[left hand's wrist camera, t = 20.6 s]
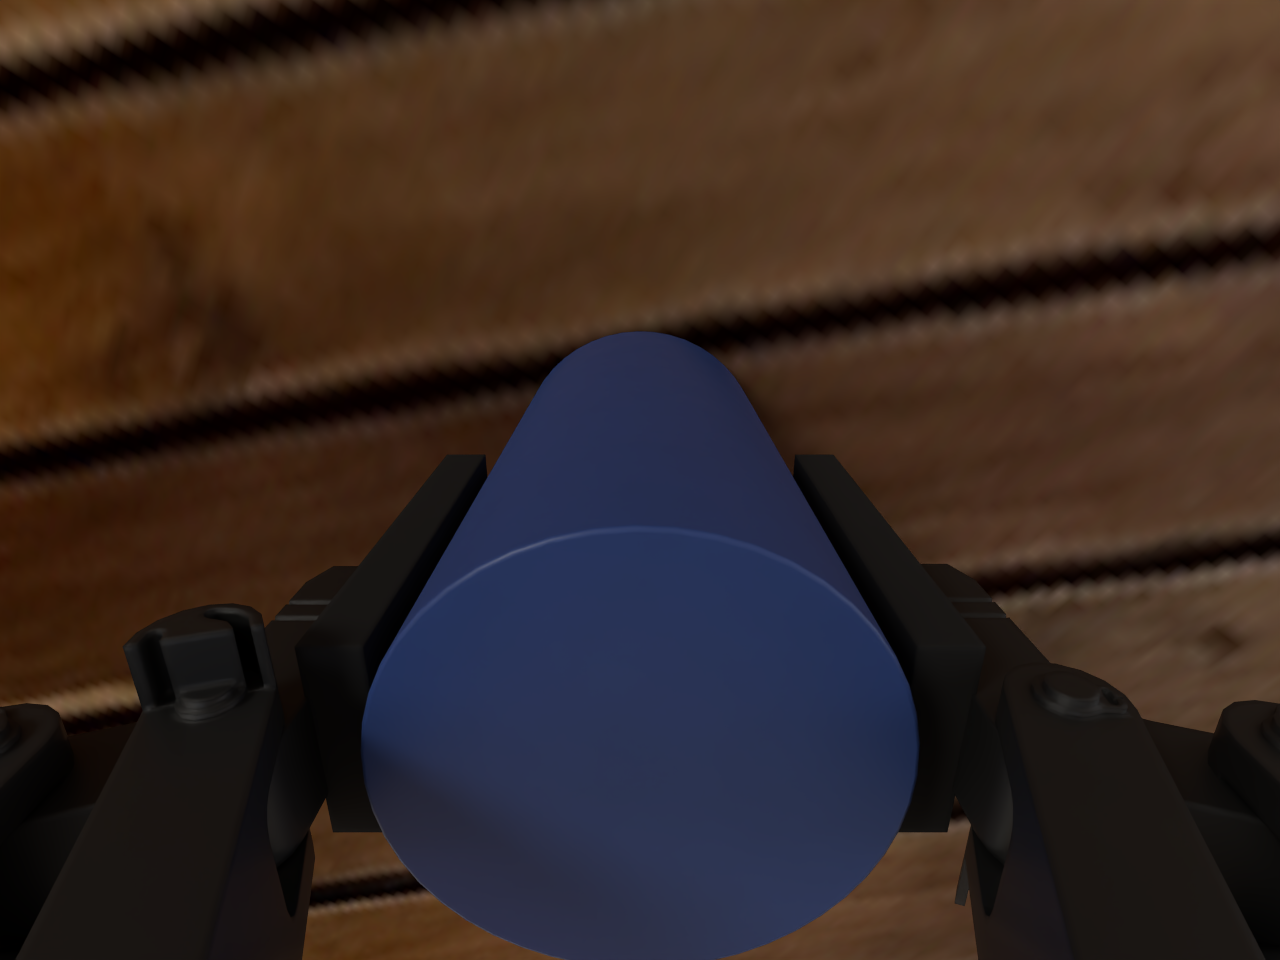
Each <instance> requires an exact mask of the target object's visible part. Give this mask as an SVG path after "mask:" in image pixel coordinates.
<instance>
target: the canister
mask: <svg viewBox="0 0 1280 960" xmlns="http://www.w3.org/2000/svg"><path fill="white" fill-rule="evenodd" d="M919 747H920V741H919V730H918V720H917V712H916V709H915V705H914V701H913V697H912V694H911V690H910V686H909V683H908V681H907V679H906V677H905V675H904V672H903V670H902V668H901V666H900V664H899V661H898V659H897V657H896V655H895V653H894V652H893V650H892V648H891V646H890V645H889V643H888V641H887V639H886V638H885V636H884V634H883V632H882V631H881V629H880V627H879V626H878V624H877V622H876V620H875V619H874V617H873V615H872V613H871V612H870V610H869V608H868V606H867V605H866V603H865V601H864V600H863V598H862V596H861V594H860V593H859V591H858V589H857V587H856V586H855V584H854V582H853V580H852V579H851V577H850V575H849V573H848V572H847V570H846V568H845V567H844V565H843V563H842V561H841V560H840V558H839V556H838V554H837V553H836V551H835V549H834V547H833V546H832V544H831V542H830V540H829V539H828V537H827V535H826V534H825V532H824V530H823V528H822V527H821V525H820V523H819V521H818V520H817V518H816V516H815V514H814V513H813V511H812V509H811V508H810V506H809V504H808V502H807V501H806V499H805V497H804V495H803V494H802V492H801V490H800V488H799V487H798V485H797V483H796V481H795V480H794V478H793V476H792V475H791V473H790V471H789V469H788V468H787V466H786V464H785V462H784V461H783V459H782V457H781V455H780V454H779V452H778V450H777V448H776V447H775V445H774V443H773V442H772V440H771V438H770V436H769V435H768V433H767V431H766V429H765V428H764V426H763V424H762V422H761V421H760V419H759V417H758V415H757V414H756V412H755V410H754V409H753V407H752V405H751V403H750V402H749V400H748V398H747V396H746V395H745V393H744V391H743V389H742V388H741V386H740V385H739V383H738V382H737V380H736V379H735V377H734V376H733V375H732V374H731V373H730V372H729V370H728V369H727V368H726V367H725V366H724V365H723V364H722V363H721V362H720V361H718V360H717V359H716V358H715V357H714V356H713V355H711V354H710V353H708V352H707V351H705V350H704V349H702V348H701V347H699V346H697V345H695V344H693V343H691V342H688V341H686V340H684V339H681V338H678V337H675V336H671V335H667V334H662V333H656V332H640V331H637V332H625V333H619V334H614V335H610V336H606V337H603V338H600V339H597V340H595V341H592V342H590V343H588V344H586V345H584V346H582V347H580V348H578V349H577V350H575V351H574V352H573V353H571V354H570V355H568V356H567V357H566V358H564V359H563V360H562V361H561V362H560V363H559V364H558V365H557V366H556V367H555V368H554V369H553V370H552V371H551V372H550V374H549V375H548V376H547V377H546V378H545V380H544V381H543V383H542V384H541V386H540V388H539V389H538V391H537V393H536V394H535V396H534V398H533V400H532V401H531V403H530V405H529V407H528V408H527V410H526V412H525V413H524V415H523V417H522V419H521V420H520V422H519V424H518V426H517V427H516V429H515V431H514V433H513V434H512V436H511V438H510V439H509V441H508V443H507V445H506V446H505V448H504V450H503V452H502V453H501V455H500V457H499V459H498V460H497V462H496V464H495V465H494V467H493V469H492V471H491V472H490V474H489V476H488V478H487V479H486V481H485V483H484V485H483V486H482V488H481V490H480V491H479V493H478V495H477V497H476V498H475V500H474V502H473V504H472V505H471V507H470V509H469V511H468V512H467V514H466V516H465V517H464V519H463V521H462V523H461V524H460V526H459V528H458V530H457V531H456V533H455V535H454V537H453V538H452V540H451V542H450V543H449V545H448V547H447V549H446V550H445V552H444V554H443V556H442V557H441V559H440V561H439V563H438V564H437V566H436V568H435V569H434V571H433V573H432V575H431V576H430V578H429V580H428V582H427V583H426V585H425V587H424V589H423V590H422V592H421V594H420V595H419V597H418V599H417V601H416V602H415V604H414V606H413V608H412V609H411V611H410V613H409V615H408V616H407V618H406V620H405V621H404V623H403V625H402V627H401V628H400V630H399V632H398V634H397V635H396V637H395V639H394V641H393V642H392V644H391V646H390V647H389V649H388V651H387V653H386V654H385V656H384V658H383V660H382V661H381V663H380V665H379V668H378V670H377V673H376V675H375V678H374V680H373V683H372V685H371V688H370V690H369V693H368V697H367V702H366V706H365V711H364V716H363V720H362V735H361V759H362V767H363V775H364V783H365V787H366V790H367V794H368V797H369V801H370V804H371V807H372V811H373V813H374V815H375V817H376V819H377V821H378V824H379V826H380V828H381V830H382V832H383V834H384V836H385V838H386V840H387V841H388V843H389V844H390V846H391V847H392V849H393V850H394V852H395V853H396V855H397V856H398V858H399V859H400V861H401V862H402V863H403V864H404V865H405V867H406V868H407V869H408V870H409V871H410V872H411V874H412V875H413V876H414V877H415V878H416V879H417V880H418V882H419V883H420V884H421V885H423V886H424V887H425V888H426V889H427V890H428V891H429V892H430V893H431V894H433V895H434V896H435V897H436V898H437V899H438V900H439V901H440V902H441V903H443V904H444V905H446V906H447V907H449V908H450V909H451V910H453V911H454V912H456V913H457V914H458V915H460V916H461V917H463V918H464V919H465V920H467V921H469V922H471V923H473V924H474V925H476V926H478V927H480V928H482V929H483V930H485V931H487V932H489V933H491V934H492V935H494V936H497V937H499V938H501V939H504V940H506V941H508V942H511V943H513V944H515V945H518V946H520V947H523V948H526V949H529V950H532V951H536V952H539V953H542V954H545V955H548V956H551V957H556V958H561V959H565V960H716V959H720V958H724V957H728V956H732V955H736V954H740V953H743V952H745V951H748V950H751V949H754V948H757V947H760V946H763V945H766V944H768V943H770V942H773V941H775V940H777V939H779V938H781V937H783V936H786V935H788V934H790V933H792V932H794V931H796V930H798V929H799V928H801V927H803V926H805V925H806V924H808V923H810V922H811V921H813V920H815V919H816V918H818V917H820V916H821V915H823V914H824V913H825V912H827V911H828V910H829V909H831V908H832V907H833V906H835V905H836V904H837V903H839V902H840V901H841V900H842V899H844V898H845V897H846V896H847V895H848V894H849V893H850V892H851V891H852V890H853V889H855V888H856V887H857V886H858V885H859V884H860V883H861V882H862V881H863V880H864V879H865V878H866V877H867V876H868V875H869V873H870V872H871V871H872V870H873V868H874V867H875V866H876V865H877V863H878V862H879V861H880V860H881V858H882V857H883V856H884V855H885V853H886V851H887V850H888V848H889V846H890V845H891V843H892V841H893V840H894V838H895V836H896V835H897V833H898V831H899V830H900V828H901V825H902V823H903V820H904V818H905V815H906V813H907V811H908V808H909V806H910V803H911V800H912V795H913V791H914V787H915V783H916V779H917V774H918V760H919Z"/></svg>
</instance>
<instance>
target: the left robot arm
mask: <svg viewBox="0 0 1280 960" xmlns="http://www.w3.org/2000/svg"><path fill="white" fill-rule="evenodd" d="M793 478H794V480H795V481H796V483H797V485H798V487H799V488H800V490H801V492H802V494H803V495H804V497H805V499H806V501H807V502H808V504H809V506H810V508H811V509H812V511H813V513H814V514H815V516H816V518H817V520H818V521H819V523H820V525H821V527H822V528H823V530H824V532H825V534H826V535H827V537H828V539H829V540H830V542H831V544H832V546H833V547H834V549H835V551H836V553H837V554H838V556H839V558H840V560H841V561H842V563H843V565H844V567H845V568H846V570H847V572H848V573H849V575H850V577H851V579H852V580H853V582H854V584H855V586H856V587H857V589H858V591H859V593H860V594H861V596H862V598H863V600H864V601H865V603H866V605H867V606H868V608H869V610H870V612H871V613H872V615H873V617H874V619H875V620H876V622H877V624H878V626H879V627H880V629H881V631H882V632H883V634H884V636H885V638H886V639H887V641H888V643H889V645H890V646H891V648H892V650H893V652H894V653H895V655H896V657H897V659H898V661H899V664H900V666H901V668H902V670H903V672H904V675H905V677H906V679H907V681H908V683H909V686H910V690H911V694H912V697H913V701H914V705H915V709H916V712H917V720H918V730H919V741H920V747H919V760H918V774H917V779H916V783H915V787H914V791H913V795H912V800H911V803H910V806H909V808H908V811H907V813H906V815H905V818H904V820H903V823H902V825H901V828H900V830H899V831H898V832H948V827H949V822H950V817H951V813H952V808H953V803H954V798H955V796H956V797H957V799H958V801H959V803H960V805H961V807H962V809H963V810H964V812H965V814H966V816H967V818H968V820H969V822H970V823H971V828H970V832H969V837H968V841H967V845H966V850H965V854H964V859H963V863H962V868H961V872H960V877H959V881H958V885H957V891H956V898H955V904H959V905H963V906H965V902H966V898H967V894H968V890H969V891H970V899H971V907H972V914H973V922H974V930H975V937H976V945H977V953H978V960H1280V704H1278V703H1271V702H1264V701H1258V700H1251V701H1240V702H1234V703H1232V704H1231V705H1229V706H1228V707H1226V708H1225V709H1223V711H1222V714H1221V717H1220V719H1219V722H1218V725H1217V727H1216V730H1215V733H1209V732H1204V731H1199V730H1194V729H1189V728H1184V727H1179V726H1174V725H1169V724H1164V723H1159V722H1154V721H1150V720H1146V719H1142V718H1141V716H1140V714H1139V712H1138V710H1137V709H1136V708H1135V707H1134V705H1133V704H1132V703H1131V702H1130V700H1129V699H1128V698H1127V697H1126V696H1125V695H1124V694H1123V693H1121V692H1120V691H1119V690H1117V689H1116V688H1114V687H1113V686H1111V685H1110V684H1109V683H1107V682H1106V681H1104V680H1102V679H1099V678H1097V677H1095V676H1093V675H1090V674H1088V673H1086V672H1084V671H1081V670H1078V669H1074V668H1070V667H1066V666H1062V665H1058V664H1051V663H1050V662H1049V661H1048V660H1047V659H1046V658H1045V657H1044V656H1043V654H1042V653H1041V652H1040V651H1039V650H1038V649H1037V648H1036V647H1035V646H1034V645H1033V643H1032V642H1031V641H1030V640H1029V639H1028V638H1027V637H1026V636H1025V635H1024V634H1023V632H1022V631H1021V630H1020V629H1019V628H1018V627H1017V626H1016V625H1015V624H1014V623H1013V621H1012V620H1011V619H1010V618H1006V614H1005V613H1004V612H1003V610H1002V609H1001V608H1000V607H999V606H998V605H997V604H996V603H995V602H992V598H991V597H990V596H989V595H988V594H987V593H986V592H985V591H984V590H983V588H982V587H981V586H980V585H979V584H978V583H977V582H976V581H975V580H974V579H972V578H971V577H969V576H967V575H965V574H964V573H962V572H960V571H959V570H957V569H955V568H953V567H952V566H950V565H948V564H920V563H919V562H918V561H917V559H916V558H915V557H914V556H913V554H912V553H911V552H910V551H909V549H908V548H907V547H906V545H905V544H904V543H903V542H902V540H901V539H900V538H899V537H898V535H897V534H896V533H895V532H894V530H893V529H892V528H891V527H890V525H889V524H888V523H887V522H886V520H885V519H884V518H883V517H882V515H881V514H880V513H879V512H878V510H877V509H876V508H875V507H874V505H873V504H872V503H871V502H870V500H869V499H868V498H867V496H866V495H865V494H864V493H863V491H862V490H861V489H860V488H859V486H858V485H857V484H856V483H855V481H854V480H853V479H852V478H851V476H850V475H849V474H848V473H847V471H846V470H845V469H844V468H843V466H842V465H841V464H840V463H839V461H838V460H837V459H836V458H835V456H834V455H795V463H794V475H793ZM486 479H487V469H486V457H485V455H447V456H446V457H445V458H444V459H443V461H442V462H441V463H440V464H439V466H438V467H437V468H436V469H435V471H434V472H433V473H432V474H431V476H430V477H429V478H428V480H427V481H426V482H425V483H424V485H423V486H422V487H421V488H420V490H419V491H418V492H417V493H416V495H415V496H414V497H413V498H412V500H411V501H410V502H409V503H408V505H407V506H406V507H405V508H404V510H403V511H402V512H401V513H400V515H399V516H398V517H397V518H396V520H395V521H394V522H393V524H392V525H391V526H390V527H389V529H388V530H387V531H386V532H385V534H384V535H383V536H382V537H381V539H380V540H379V541H378V542H377V544H376V545H375V546H374V547H373V549H372V550H371V551H370V552H369V554H368V555H367V556H366V557H365V559H364V560H363V561H362V562H361V564H360V565H359V566H333V567H331V568H330V569H328V570H326V571H325V572H323V573H321V574H320V575H318V576H316V577H314V578H313V579H311V580H309V581H308V582H306V583H305V584H304V585H303V586H302V588H301V589H300V590H299V591H298V592H297V593H296V594H295V595H294V596H293V598H292V599H291V600H290V601H289V602H290V603H289V605H285V606H284V607H283V609H282V610H281V611H280V612H279V613H278V614H277V615H276V616H275V621H271V622H270V623H269V624H268V625H267V626H266V627H265V628H264V623H263V619H262V615H261V613H259V612H258V611H256V610H255V609H254V608H252V607H250V606H244V605H239V604H233V603H232V604H215V605H206V606H202V607H197V608H193V609H188V610H184V611H181V612H178V613H176V614H173V615H170V616H168V617H165V618H162V619H160V620H157V621H156V622H154V623H152V624H151V625H149V626H147V627H145V628H144V629H142V630H140V631H139V632H137V633H136V634H135V635H134V636H133V637H132V638H131V639H130V640H129V641H128V642H127V643H126V644H125V645H124V646H123V649H124V652H125V655H126V658H127V662H128V665H129V668H130V671H131V674H132V678H133V681H134V684H135V687H136V690H137V693H138V697H139V700H140V703H141V706H142V709H143V712H142V714H141V716H140V718H139V719H138V721H137V722H136V723H132V724H128V725H123V726H118V727H113V728H108V729H103V730H98V731H93V732H88V733H83V734H78V735H73V736H67V734H66V731H65V728H64V726H63V723H62V720H61V717H60V715H59V713H58V712H57V711H55V710H54V709H52V708H51V707H49V706H48V705H40V704H29V703H25V704H19V705H12V706H5V707H0V960H302V955H303V947H304V939H305V932H306V924H307V916H308V908H309V901H310V893H311V885H312V877H313V870H314V862H315V854H314V847H313V841H312V837H311V832H310V826H311V824H312V822H313V821H314V819H315V817H316V815H317V813H318V811H319V809H320V808H321V806H322V804H323V802H324V800H325V798H326V801H327V805H328V810H329V815H330V820H331V825H332V829H333V832H382V830H381V828H380V826H379V824H378V821H377V819H376V817H375V815H374V813H373V811H372V807H371V804H370V801H369V797H368V794H367V790H366V787H365V783H364V775H363V767H362V759H361V735H362V720H363V716H364V711H365V706H366V702H367V697H368V693H369V690H370V688H371V685H372V683H373V680H374V678H375V675H376V673H377V670H378V668H379V665H380V663H381V661H382V660H383V658H384V656H385V654H386V653H387V651H388V649H389V647H390V646H391V644H392V642H393V641H394V639H395V637H396V635H397V634H398V632H399V630H400V628H401V627H402V625H403V623H404V621H405V620H406V618H407V616H408V615H409V613H410V611H411V609H412V608H413V606H414V604H415V602H416V601H417V599H418V597H419V595H420V594H421V592H422V590H423V589H424V587H425V585H426V583H427V582H428V580H429V578H430V576H431V575H432V573H433V571H434V569H435V568H436V566H437V564H438V563H439V561H440V559H441V557H442V556H443V554H444V552H445V550H446V549H447V547H448V545H449V543H450V542H451V540H452V538H453V537H454V535H455V533H456V531H457V530H458V528H459V526H460V524H461V523H462V521H463V519H464V517H465V516H466V514H467V512H468V511H469V509H470V507H471V505H472V504H473V502H474V500H475V498H476V497H477V495H478V493H479V491H480V490H481V488H482V486H483V485H484V483H485V481H486Z"/></svg>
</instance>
